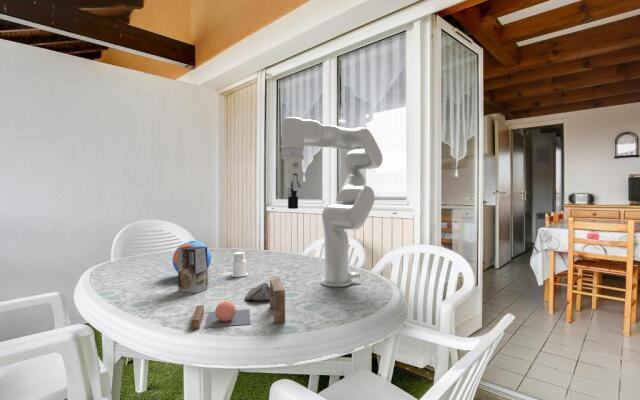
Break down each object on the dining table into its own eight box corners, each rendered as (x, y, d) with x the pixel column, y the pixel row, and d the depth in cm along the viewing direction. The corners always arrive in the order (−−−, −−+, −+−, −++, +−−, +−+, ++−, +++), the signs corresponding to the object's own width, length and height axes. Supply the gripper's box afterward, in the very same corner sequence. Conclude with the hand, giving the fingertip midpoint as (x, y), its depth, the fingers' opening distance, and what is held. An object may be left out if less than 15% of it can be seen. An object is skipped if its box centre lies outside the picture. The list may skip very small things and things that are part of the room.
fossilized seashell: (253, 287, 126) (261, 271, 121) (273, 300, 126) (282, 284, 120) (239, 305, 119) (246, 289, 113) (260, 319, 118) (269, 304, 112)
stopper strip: (203, 313, 104) (203, 305, 104) (199, 328, 93) (199, 319, 93) (196, 313, 104) (196, 305, 104) (191, 329, 92) (191, 320, 92)
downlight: (252, 274, 152) (251, 252, 152) (240, 278, 146) (239, 254, 146) (239, 273, 157) (238, 251, 157) (227, 276, 151) (226, 253, 151)
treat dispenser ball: (217, 273, 155) (217, 239, 154) (198, 282, 140) (197, 244, 139) (187, 271, 158) (186, 238, 158) (164, 280, 143) (164, 243, 143)
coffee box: (208, 289, 130) (208, 246, 130) (195, 293, 124) (195, 249, 124) (190, 286, 134) (190, 245, 134) (177, 290, 128) (176, 247, 128)
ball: (213, 317, 100) (232, 319, 101) (213, 322, 94) (233, 325, 96) (217, 297, 100) (236, 300, 102) (218, 302, 95) (238, 305, 96)
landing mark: (249, 309, 107) (249, 309, 107) (250, 324, 96) (250, 323, 96) (209, 312, 105) (209, 312, 105) (205, 328, 93) (205, 327, 93)
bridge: (279, 306, 111) (279, 277, 111) (285, 323, 97) (285, 290, 96) (269, 306, 110) (269, 278, 110) (274, 324, 96) (274, 290, 96)
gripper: (307, 152, 111) (307, 209, 111) (300, 157, 125) (300, 207, 126) (284, 152, 109) (284, 209, 110) (279, 156, 124) (279, 207, 124)
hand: (293, 208), depth 118 cm, fingers closed
